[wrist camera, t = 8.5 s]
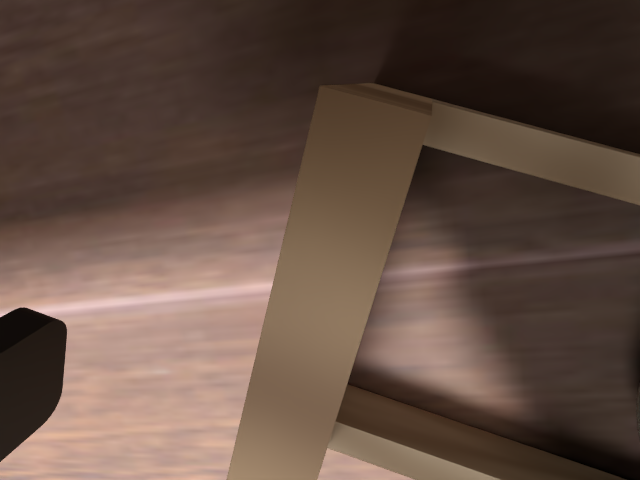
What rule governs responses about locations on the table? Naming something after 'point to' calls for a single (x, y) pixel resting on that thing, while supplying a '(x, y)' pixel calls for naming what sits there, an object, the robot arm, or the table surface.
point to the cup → (638, 410)
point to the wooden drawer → (362, 282)
